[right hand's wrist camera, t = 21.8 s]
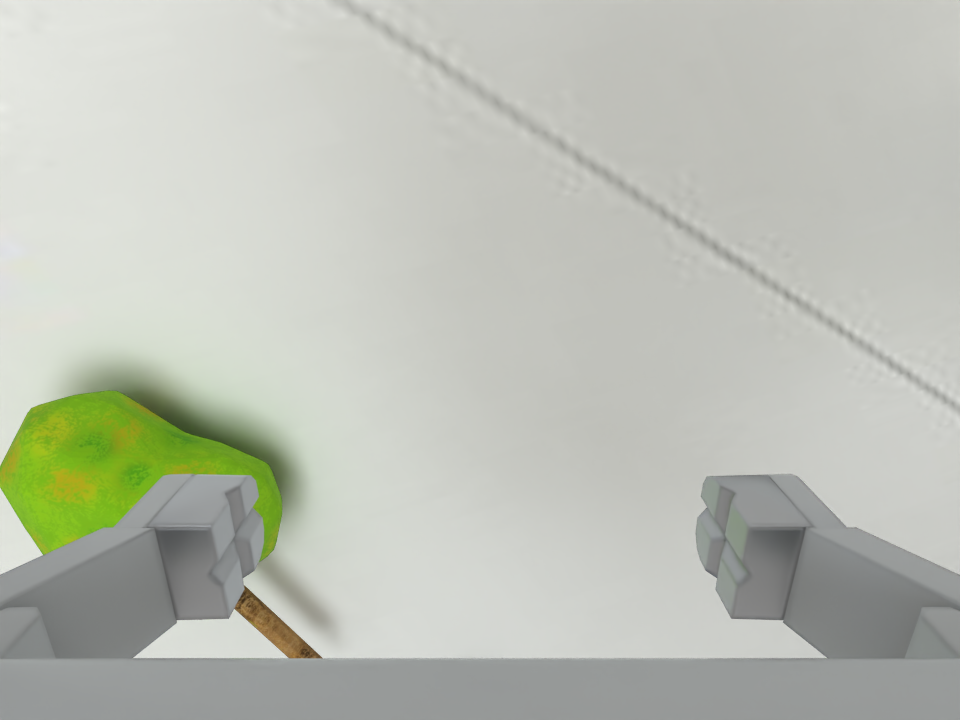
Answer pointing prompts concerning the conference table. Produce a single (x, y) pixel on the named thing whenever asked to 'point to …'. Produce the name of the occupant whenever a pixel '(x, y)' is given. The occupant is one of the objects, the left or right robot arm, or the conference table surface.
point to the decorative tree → (124, 479)
